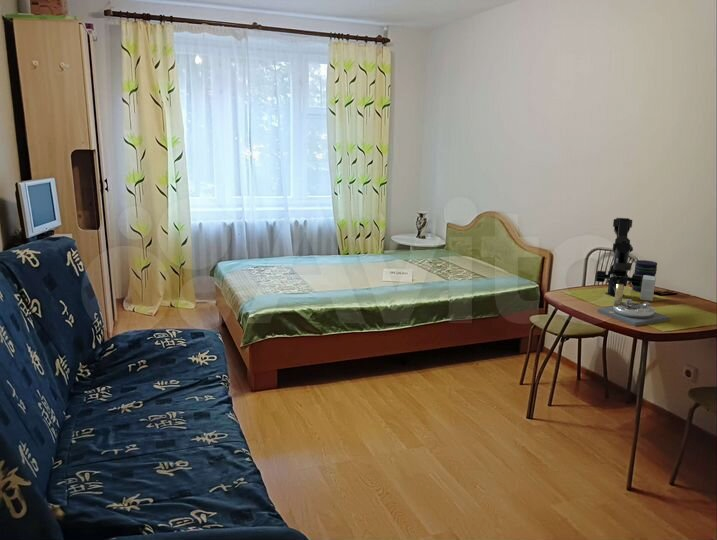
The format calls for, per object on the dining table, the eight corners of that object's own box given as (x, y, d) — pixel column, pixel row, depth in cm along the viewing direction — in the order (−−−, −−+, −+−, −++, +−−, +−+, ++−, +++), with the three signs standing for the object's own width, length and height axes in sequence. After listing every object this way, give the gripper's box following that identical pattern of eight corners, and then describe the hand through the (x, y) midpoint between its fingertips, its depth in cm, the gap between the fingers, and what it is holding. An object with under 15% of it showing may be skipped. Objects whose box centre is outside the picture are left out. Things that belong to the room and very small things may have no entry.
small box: (640, 295, 262) (643, 275, 260) (653, 297, 260) (656, 276, 257) (639, 299, 256) (642, 278, 253) (652, 301, 253) (655, 279, 250)
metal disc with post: (608, 313, 229) (611, 285, 226) (618, 304, 241) (621, 278, 238) (648, 320, 219) (652, 292, 216) (657, 311, 231) (661, 284, 228)
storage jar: (658, 292, 267) (662, 263, 264) (641, 293, 265) (645, 264, 262) (643, 287, 277) (647, 259, 273) (627, 288, 275) (631, 260, 271)
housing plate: (597, 312, 236) (597, 308, 236) (631, 307, 243) (631, 303, 243) (634, 326, 218) (634, 322, 218) (669, 320, 225) (670, 316, 225)
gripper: (598, 253, 237) (594, 282, 230) (645, 257, 229) (642, 288, 222) (597, 266, 245) (593, 294, 239) (642, 271, 237) (639, 301, 231)
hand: (616, 294), depth 232 cm, fingers closed, pressing on metal disc with post
